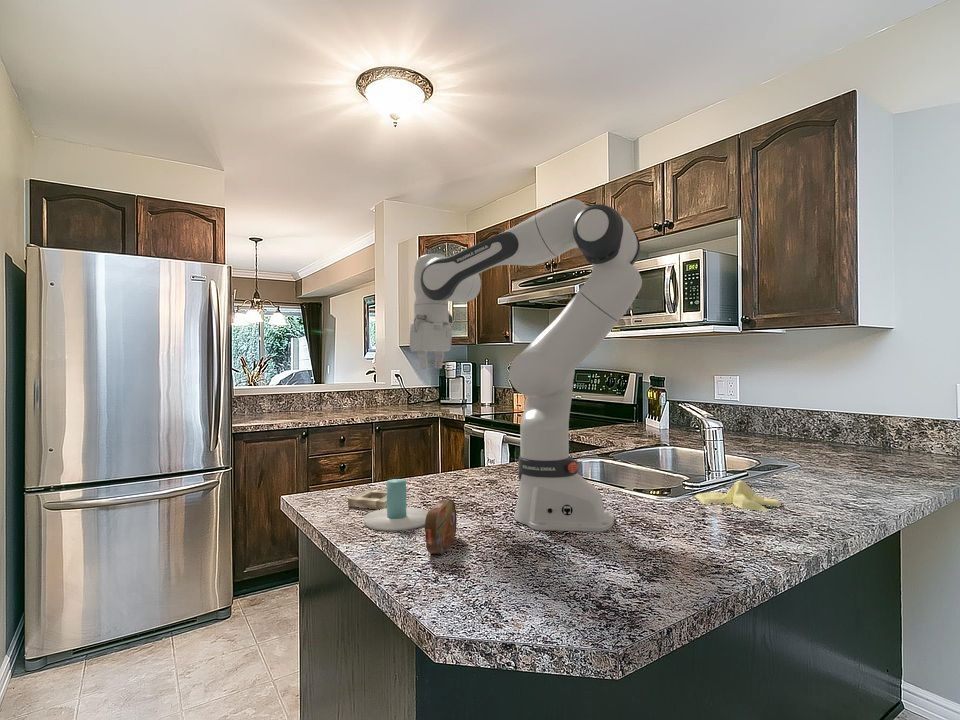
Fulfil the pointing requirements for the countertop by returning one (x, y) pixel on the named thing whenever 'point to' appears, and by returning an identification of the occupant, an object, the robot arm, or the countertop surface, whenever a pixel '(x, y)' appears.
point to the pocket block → (369, 500)
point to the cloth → (739, 498)
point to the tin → (440, 526)
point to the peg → (396, 499)
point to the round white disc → (395, 520)
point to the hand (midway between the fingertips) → (431, 368)
